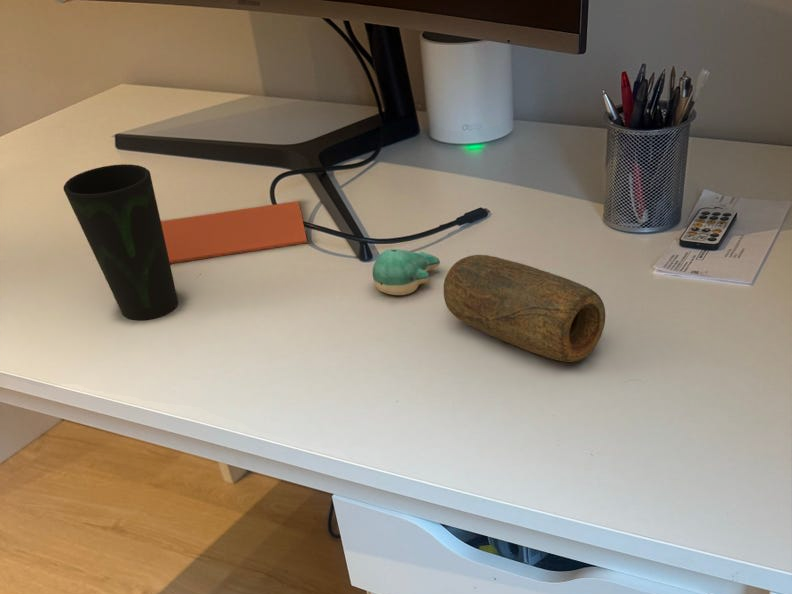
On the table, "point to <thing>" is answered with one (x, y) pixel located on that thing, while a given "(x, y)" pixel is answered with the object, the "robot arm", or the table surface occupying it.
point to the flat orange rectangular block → (234, 232)
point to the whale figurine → (402, 270)
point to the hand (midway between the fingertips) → (11, 14)
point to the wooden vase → (525, 306)
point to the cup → (126, 237)
